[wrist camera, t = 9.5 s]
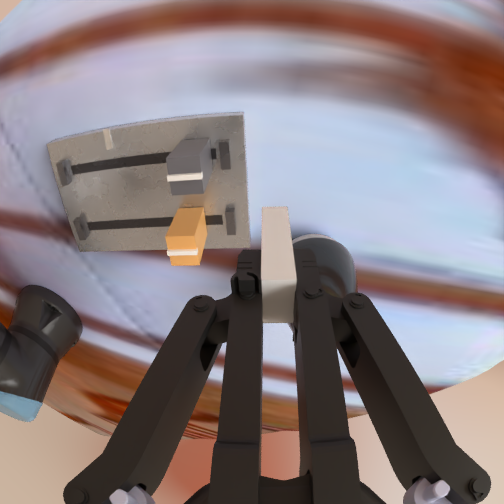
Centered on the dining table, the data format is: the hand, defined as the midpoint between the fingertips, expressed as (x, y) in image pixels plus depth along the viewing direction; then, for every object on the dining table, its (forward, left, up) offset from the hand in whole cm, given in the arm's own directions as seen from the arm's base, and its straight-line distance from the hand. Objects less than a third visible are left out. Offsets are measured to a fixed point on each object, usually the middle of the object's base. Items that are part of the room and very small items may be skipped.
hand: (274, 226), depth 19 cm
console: (-14, -4, -17) cm, 23 cm away
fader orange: (-9, -8, -15) cm, 19 cm away
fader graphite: (-7, 0, -15) cm, 16 cm away
